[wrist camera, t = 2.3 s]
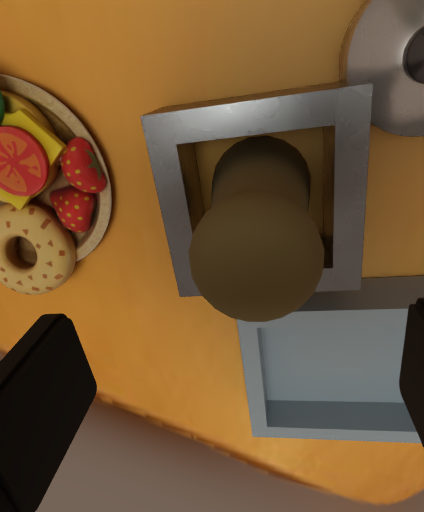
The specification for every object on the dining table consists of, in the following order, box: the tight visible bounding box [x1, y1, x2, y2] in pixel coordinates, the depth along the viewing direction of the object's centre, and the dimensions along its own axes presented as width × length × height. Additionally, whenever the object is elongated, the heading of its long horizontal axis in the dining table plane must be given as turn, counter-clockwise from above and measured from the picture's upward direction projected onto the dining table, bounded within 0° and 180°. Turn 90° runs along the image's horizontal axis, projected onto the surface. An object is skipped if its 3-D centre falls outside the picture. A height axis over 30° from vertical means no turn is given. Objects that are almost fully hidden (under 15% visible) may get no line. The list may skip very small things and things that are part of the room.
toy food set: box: [0, 74, 112, 295], centre depth 23 cm, size 13×13×3 cm
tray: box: [237, 276, 424, 443], centre depth 25 cm, size 14×12×4 cm
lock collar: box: [140, 0, 424, 297], centre depth 19 cm, size 17×15×4 cm
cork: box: [189, 136, 324, 322], centre depth 17 cm, size 6×6×11 cm
